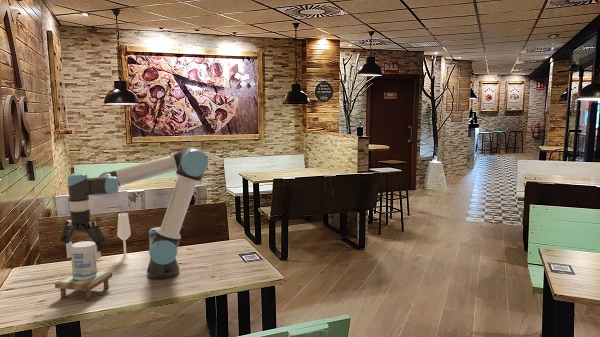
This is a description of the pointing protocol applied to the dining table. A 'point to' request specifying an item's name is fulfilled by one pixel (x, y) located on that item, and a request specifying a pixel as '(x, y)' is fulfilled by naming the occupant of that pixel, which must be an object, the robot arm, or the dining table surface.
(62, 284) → the small wooden table
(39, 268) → the dining table surface
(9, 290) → the dining table surface
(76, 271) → the supplement tub
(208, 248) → the dining table surface
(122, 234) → the champagne flute
